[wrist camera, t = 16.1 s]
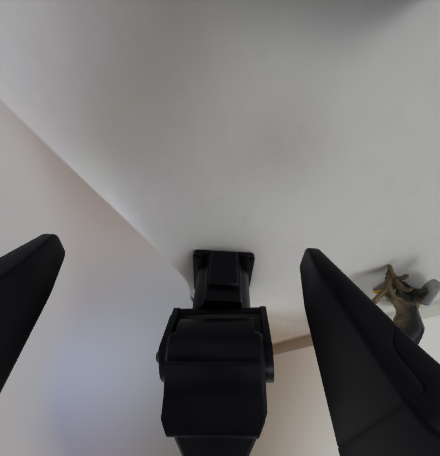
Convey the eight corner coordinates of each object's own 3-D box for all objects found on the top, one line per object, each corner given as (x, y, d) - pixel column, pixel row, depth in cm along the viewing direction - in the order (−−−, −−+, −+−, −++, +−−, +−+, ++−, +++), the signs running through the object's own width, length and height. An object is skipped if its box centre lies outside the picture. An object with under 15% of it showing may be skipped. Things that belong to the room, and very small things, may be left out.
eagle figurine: (339, 291, 30) (374, 337, 33) (398, 324, 23) (435, 377, 26) (384, 245, 31) (414, 293, 33) (453, 264, 24) (483, 322, 27)
